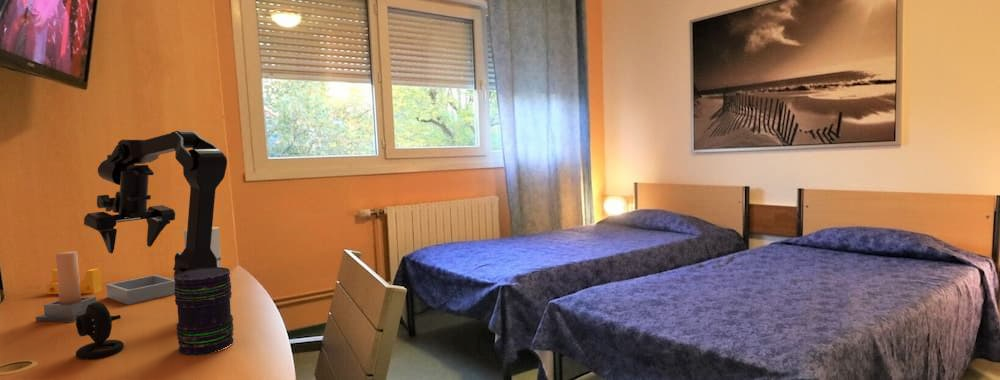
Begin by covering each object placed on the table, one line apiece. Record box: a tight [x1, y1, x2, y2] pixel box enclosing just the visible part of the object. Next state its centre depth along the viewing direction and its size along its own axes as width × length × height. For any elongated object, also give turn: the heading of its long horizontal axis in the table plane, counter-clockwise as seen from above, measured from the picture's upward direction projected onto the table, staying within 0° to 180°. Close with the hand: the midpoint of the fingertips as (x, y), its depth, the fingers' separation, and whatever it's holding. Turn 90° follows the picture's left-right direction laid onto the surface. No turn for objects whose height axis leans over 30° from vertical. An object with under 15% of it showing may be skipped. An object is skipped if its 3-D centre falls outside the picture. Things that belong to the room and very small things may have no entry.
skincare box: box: [183, 226, 222, 268], centre depth 162 cm, size 8×6×15 cm
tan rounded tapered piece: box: [55, 250, 82, 304], centre depth 125 cm, size 4×4×14 cm
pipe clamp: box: [46, 268, 103, 295], centre depth 145 cm, size 12×4×6 cm, turn 85°
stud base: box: [35, 296, 97, 323], centre depth 126 cm, size 9×9×4 cm
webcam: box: [75, 301, 125, 360], centre depth 103 cm, size 8×8×10 cm
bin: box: [106, 274, 175, 305], centre depth 142 cm, size 12×12×4 cm
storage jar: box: [173, 266, 235, 357], centre depth 105 cm, size 10×10×15 cm
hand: (130, 249), depth 134 cm, fingers open, 9 cm apart
